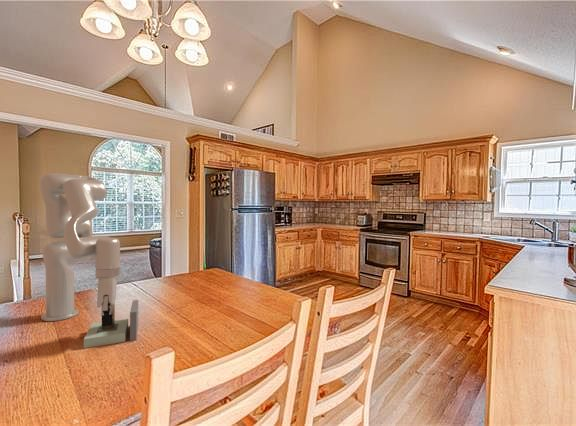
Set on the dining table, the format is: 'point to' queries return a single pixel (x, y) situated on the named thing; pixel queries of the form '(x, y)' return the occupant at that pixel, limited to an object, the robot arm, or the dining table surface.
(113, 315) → the walnut peg
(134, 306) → the low wall
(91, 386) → the dining table surface
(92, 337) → the socket block
